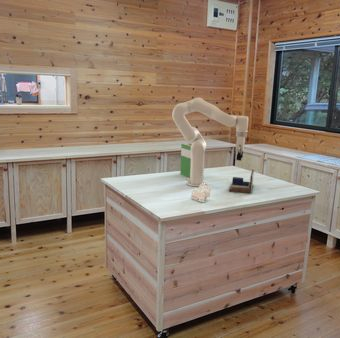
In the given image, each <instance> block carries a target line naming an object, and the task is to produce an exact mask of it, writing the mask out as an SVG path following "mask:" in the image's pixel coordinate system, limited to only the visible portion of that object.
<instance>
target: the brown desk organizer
mask: <svg viewBox="0 0 340 338" xmlns="http://www.w3.org/2000/svg"><path fill="white" fill-rule="evenodd" d="M254 172H255V169H254V168H251V173H250V177H249V178H250V179H249V181H248V182H249V189H248V188H237V187H231V186H230V188H229V192H230V193H238V194H248V195H251V194H252V191H253V190H252V189H253V186H254V185H253V184H254Z"/></svg>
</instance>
